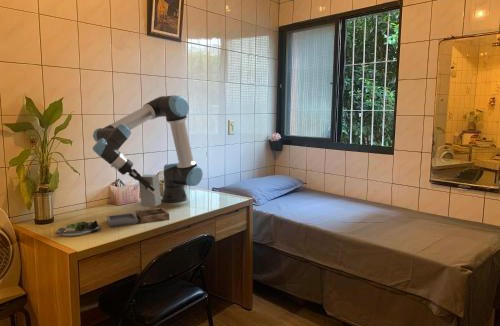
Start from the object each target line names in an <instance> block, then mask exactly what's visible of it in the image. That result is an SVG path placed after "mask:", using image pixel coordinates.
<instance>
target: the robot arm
mask: <svg viewBox="0 0 500 326" xmlns="http://www.w3.org/2000/svg"><path fill="white" fill-rule="evenodd" d="M189 111H190V105H189V102H188V100H187V99H186V98H185V97H184V96H182V95H175V94H174V95H162V96H159V97H156V98H154V99H152V100H150V101H149V102H147V103H145V104H143V106H142V107H141V108H139V109H137V110H134V111H133V112H132V113H129V114H128V115H125V116H124V117H122V118H120V119H119V120H116V121H114V122H113V123H111V124H109V125H107V126H104V127H103V128H101V127H100V128H96V129H95V130H94V131H93V134H92V137H93V140H94V141H95V142H96V143H95V144H94V145H93V147H92V150H93V152H94V153H96V155H98V156H99V157H100V158H101V159H103V160H104V161H105V162H106V163H108V164H109V165H110V168H114V169H115V170H117V172H118V173H119V174H121V175H122V176H123V175H126V174H128V176H129V177H131V178H132V179H134V180H135V181H138V183H139V182H140V183H142V184H143V185H144V186H145V187H146V188H145V189H148V190H150V191H151V192H152V193H153V194H154V195H156V196H158V195H159V193H160V194H161V191H160V192H159V191H158V190H157V189H156V188H155V187H153V186H152V185H151V184H150V183H148V182H147V181H146V180H145V179H143V178H142V177H141V176H142V175H141V174H140V172H138V170H136V169H135V168H133V166H134V163H133V162H132V161H131V160H130V159H128V157H126V156H125V155H124V154H123V153H122V152H120V151H119V149H120V148H121V147H122V146H123V145H124V144H125V142H127V140H129V137H131V134H132V130H133V129H135V128H136V127H138V126H140V125H142V124H144V123H146V122H147V121H150V120H153V121H154V120H155V119H157V118H160V117H161V118H165V120H166V122H167V123H168V124H169V125H170V129H171V133H172V138H173V144H174V147H175V151H176V152H175V153H176V157H177V161H178V162H174V163H169V164H167V163H166V164H165V165H163V181H164V182H163V183H164V184H163V185H164V188H163V192H162V195H161V202H164V203H179V202H180V203H181V202H185V201H186V200H188V198H187V197H188V196H187V193H186V191H185V187H184V186H188V187H195V186H196V187H197V186H198V185H199V184H200V183H201V181H202V179H203V169H202V168H201V167H199V166H198V164H197V161H196V160H195V159H194V158H193V153H192V148H191V143H190V138H189V134H188V130H187V124H186V120H187V119H188V116H187V115H188V114H189ZM147 183H148V184H147ZM146 184H147V185H146Z"/></svg>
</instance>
